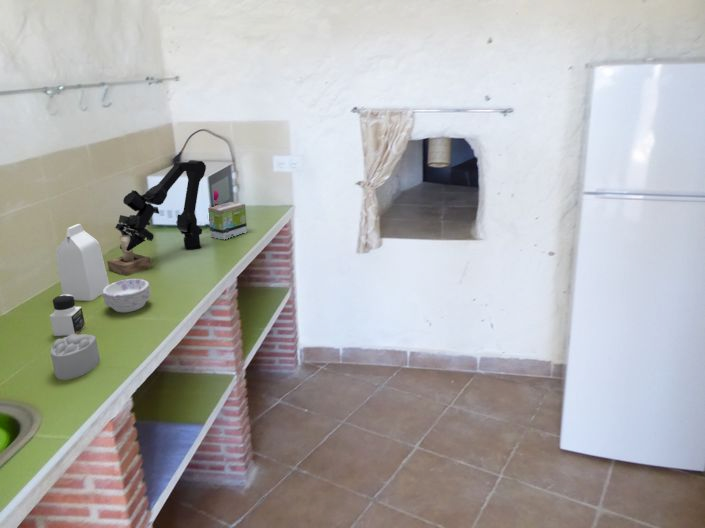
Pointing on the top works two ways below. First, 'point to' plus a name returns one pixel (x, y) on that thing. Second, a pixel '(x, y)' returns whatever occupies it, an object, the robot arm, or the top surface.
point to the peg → (124, 244)
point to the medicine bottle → (66, 316)
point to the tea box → (227, 220)
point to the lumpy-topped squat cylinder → (74, 355)
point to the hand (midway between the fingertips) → (124, 249)
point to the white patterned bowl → (127, 295)
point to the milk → (81, 265)
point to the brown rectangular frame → (129, 264)
